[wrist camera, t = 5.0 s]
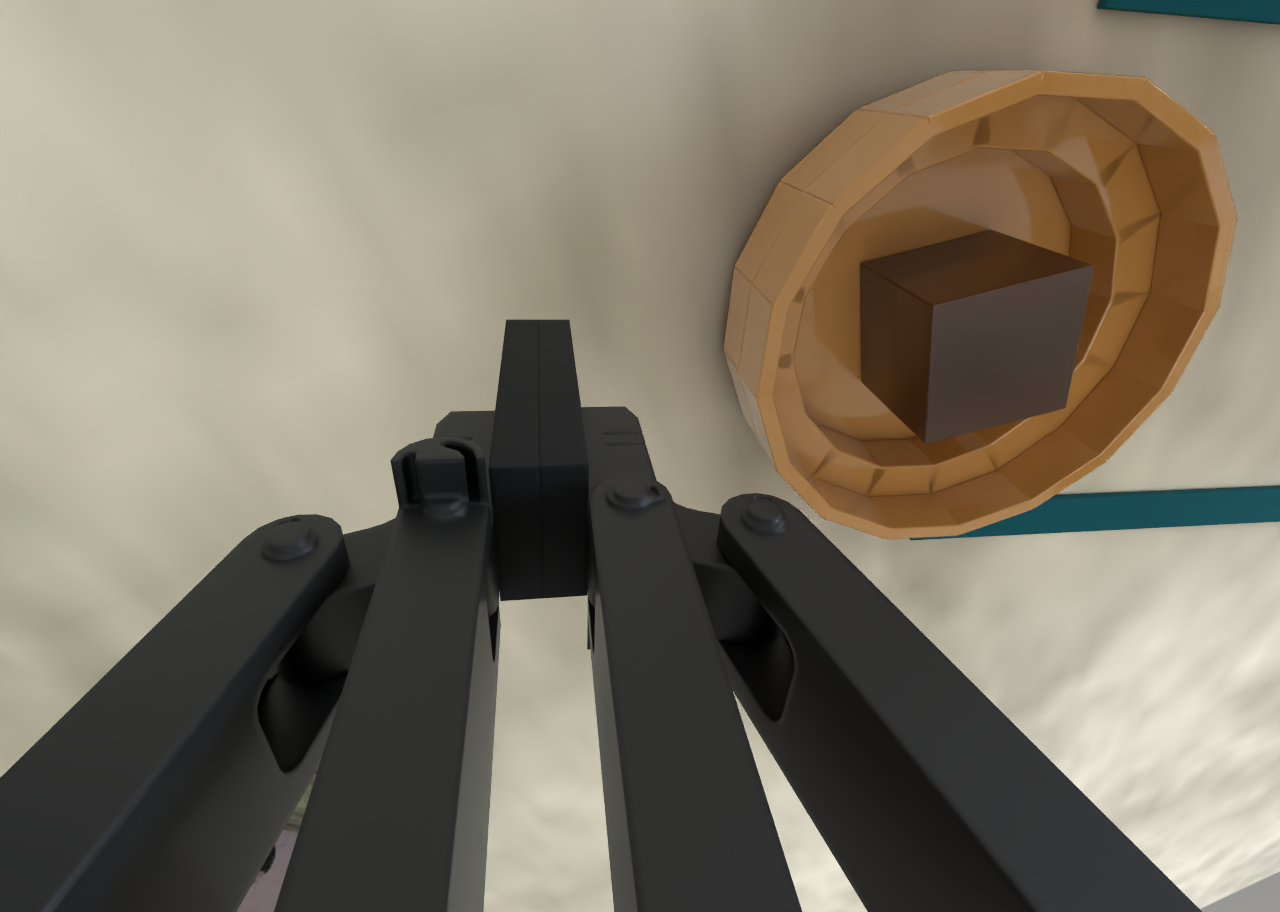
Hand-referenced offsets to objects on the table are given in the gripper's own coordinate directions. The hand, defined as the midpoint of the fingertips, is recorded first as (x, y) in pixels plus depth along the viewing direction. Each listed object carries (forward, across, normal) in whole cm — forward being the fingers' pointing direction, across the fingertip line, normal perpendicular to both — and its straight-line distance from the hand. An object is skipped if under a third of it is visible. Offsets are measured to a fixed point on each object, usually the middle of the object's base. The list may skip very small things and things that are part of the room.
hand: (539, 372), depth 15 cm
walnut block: (+5, +13, 0) cm, 14 cm away
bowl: (+6, +13, 0) cm, 14 cm away
